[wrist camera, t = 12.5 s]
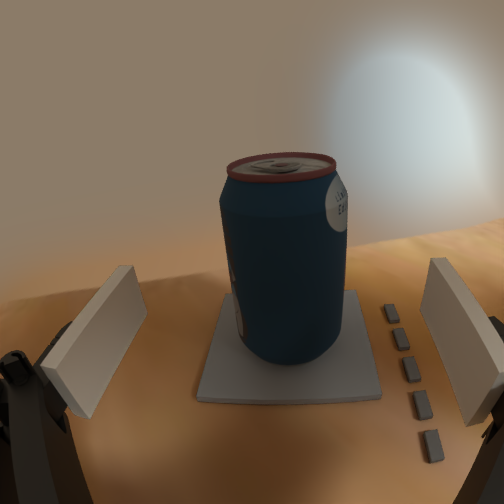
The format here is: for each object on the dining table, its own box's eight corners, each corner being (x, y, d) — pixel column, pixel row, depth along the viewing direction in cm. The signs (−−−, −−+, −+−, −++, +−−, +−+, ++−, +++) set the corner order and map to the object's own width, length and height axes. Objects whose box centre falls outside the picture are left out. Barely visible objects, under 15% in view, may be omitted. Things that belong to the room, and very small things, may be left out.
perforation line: (392, 306, 24) (393, 303, 24) (442, 460, 12) (444, 458, 12) (383, 307, 24) (384, 304, 24) (429, 463, 12) (431, 461, 12)
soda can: (359, 332, 21) (372, 158, 16) (291, 392, 18) (283, 186, 12) (288, 297, 26) (279, 147, 21) (220, 339, 22) (189, 169, 17)
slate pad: (355, 294, 26) (355, 289, 26) (380, 398, 17) (382, 393, 16) (226, 298, 28) (225, 293, 27) (197, 401, 18) (196, 396, 18)
